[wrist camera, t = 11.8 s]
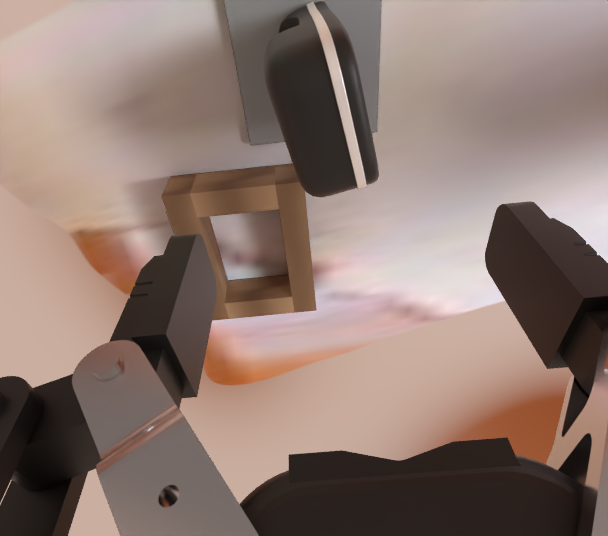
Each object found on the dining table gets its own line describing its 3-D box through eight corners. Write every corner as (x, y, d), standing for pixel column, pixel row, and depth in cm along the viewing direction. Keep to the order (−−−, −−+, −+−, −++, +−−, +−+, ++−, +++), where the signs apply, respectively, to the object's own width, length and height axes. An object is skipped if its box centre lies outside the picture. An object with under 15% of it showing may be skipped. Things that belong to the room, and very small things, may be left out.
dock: (301, 162, 29) (303, 181, 27) (314, 287, 38) (316, 310, 35) (167, 176, 30) (158, 196, 27) (209, 298, 38) (205, 321, 36)
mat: (380, -28, 22) (382, -28, 22) (375, 128, 28) (377, 131, 27) (223, -10, 22) (222, -10, 22) (251, 142, 28) (250, 145, 28)
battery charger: (260, 17, 23) (249, 66, 14) (323, -7, 22) (352, 28, 13) (297, 130, 27) (305, 220, 18) (350, 112, 26) (385, 197, 18)
